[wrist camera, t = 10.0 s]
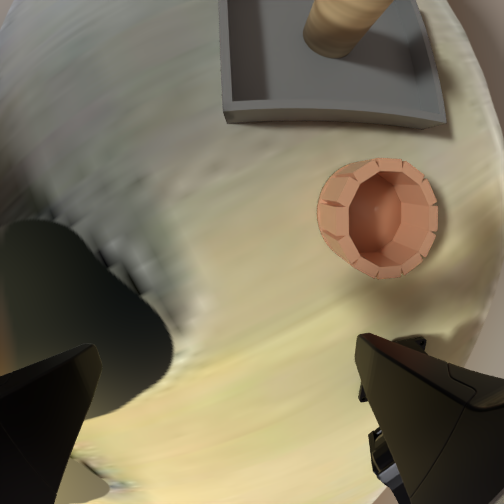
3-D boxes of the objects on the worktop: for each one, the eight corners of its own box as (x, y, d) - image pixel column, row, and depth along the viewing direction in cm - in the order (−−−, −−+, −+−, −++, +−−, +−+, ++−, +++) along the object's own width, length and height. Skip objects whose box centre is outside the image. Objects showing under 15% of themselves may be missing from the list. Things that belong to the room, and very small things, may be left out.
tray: (422, 129, 19) (446, 123, 16) (227, 123, 19) (222, 111, 16) (393, -1, 16) (408, -18, 13) (220, -16, 16) (217, -39, 13)
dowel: (356, 61, 17) (420, -4, 7) (305, 56, 17) (345, -24, 7) (348, 21, 16) (397, -50, 7) (299, 16, 16) (328, -67, 7)
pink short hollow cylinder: (405, 258, 22) (435, 274, 17) (317, 265, 22) (334, 285, 17) (405, 163, 20) (437, 160, 16) (314, 161, 20) (331, 154, 16)
